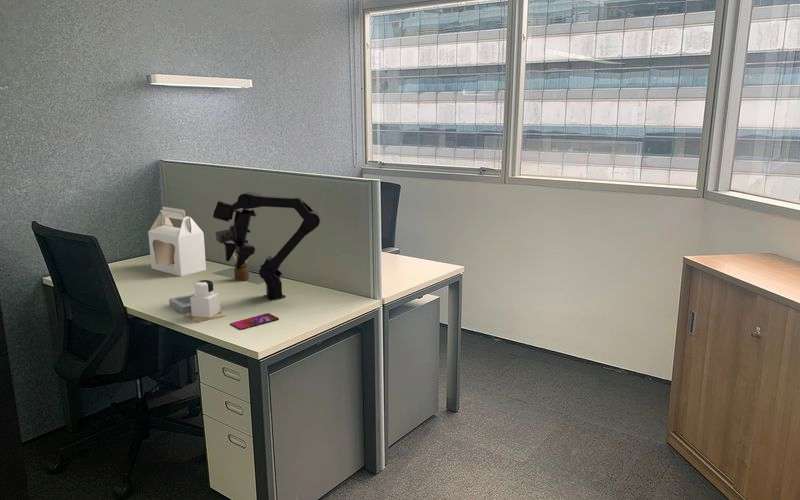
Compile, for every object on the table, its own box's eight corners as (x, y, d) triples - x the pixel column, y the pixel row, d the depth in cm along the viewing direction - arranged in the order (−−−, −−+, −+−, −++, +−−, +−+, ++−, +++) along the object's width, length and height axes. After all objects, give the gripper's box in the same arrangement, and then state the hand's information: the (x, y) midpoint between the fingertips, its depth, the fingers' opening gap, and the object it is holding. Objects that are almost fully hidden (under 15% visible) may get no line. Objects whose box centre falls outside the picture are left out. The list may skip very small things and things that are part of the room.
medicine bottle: (202, 310, 213) (200, 277, 210) (220, 311, 211) (218, 279, 208) (191, 316, 206) (188, 283, 203) (209, 318, 204) (207, 285, 202)
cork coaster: (225, 316, 208) (225, 315, 208) (197, 322, 202) (197, 321, 201) (212, 309, 215) (212, 307, 215) (185, 315, 209) (185, 313, 209)
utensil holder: (246, 281, 250) (244, 253, 247) (231, 280, 251) (230, 253, 248) (251, 277, 256) (249, 250, 253) (237, 277, 256) (235, 250, 254)
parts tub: (216, 306, 218) (216, 300, 217) (183, 314, 210) (182, 307, 209) (202, 298, 227) (202, 292, 227) (169, 305, 219) (169, 298, 219)
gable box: (151, 268, 269) (145, 207, 263) (176, 263, 280) (171, 204, 273) (181, 276, 257) (176, 212, 250) (206, 270, 267) (202, 208, 261)
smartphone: (229, 323, 200) (268, 312, 210) (229, 325, 200) (268, 315, 210) (240, 329, 195) (280, 318, 205) (240, 331, 195) (280, 320, 205)
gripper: (210, 216, 223) (202, 255, 226) (231, 229, 210) (222, 271, 212) (238, 219, 231) (229, 258, 233) (259, 232, 217) (250, 273, 220)
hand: (232, 264), depth 225 cm, fingers open, 9 cm apart
